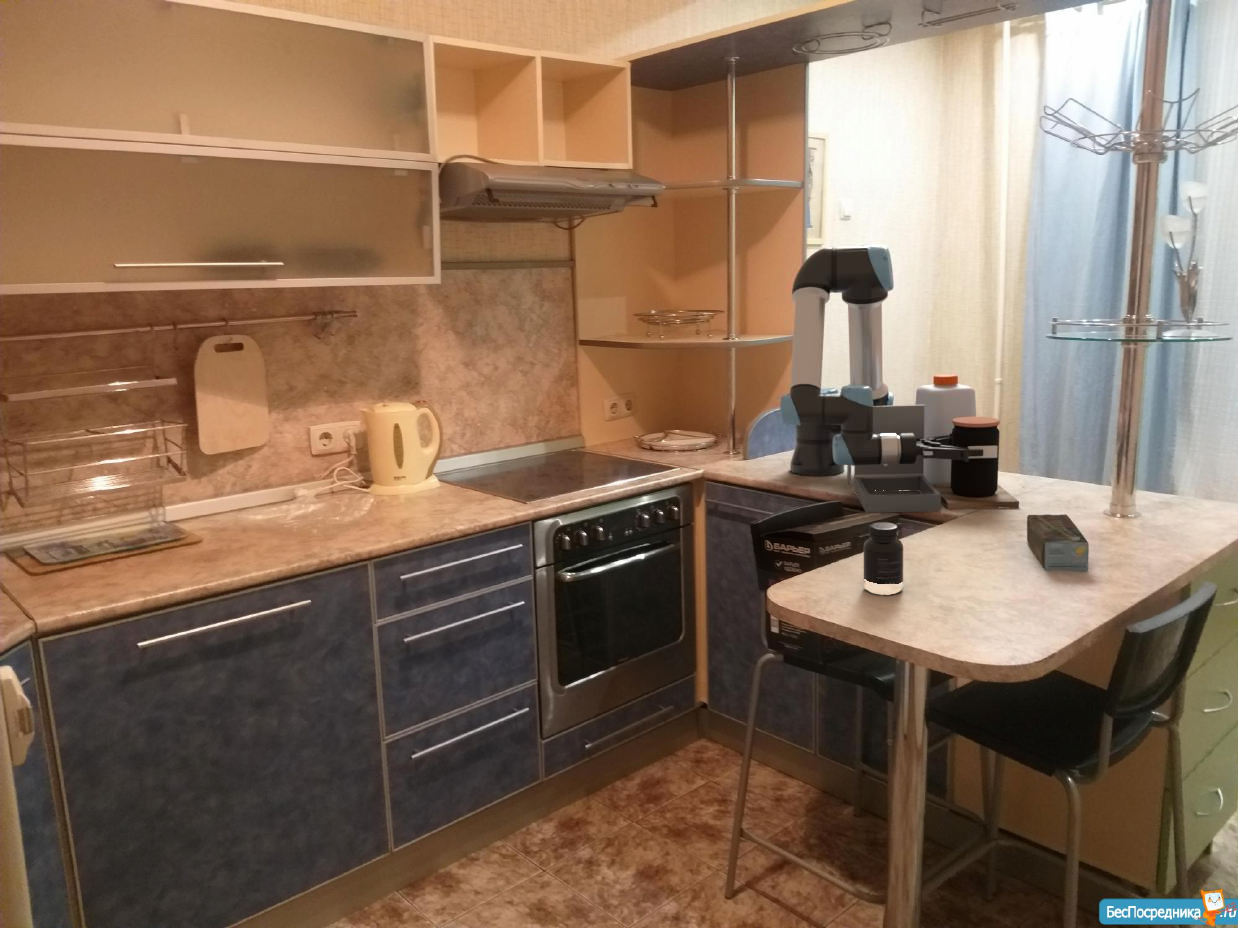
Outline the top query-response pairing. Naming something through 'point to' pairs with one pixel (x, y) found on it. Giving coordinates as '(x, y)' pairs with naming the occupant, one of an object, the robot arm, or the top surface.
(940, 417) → the plastic bottle
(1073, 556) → the beverage carton
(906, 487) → the equipment case
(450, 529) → the top surface
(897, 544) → the supplement bottle
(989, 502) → the walnut board
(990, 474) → the coffee jar
